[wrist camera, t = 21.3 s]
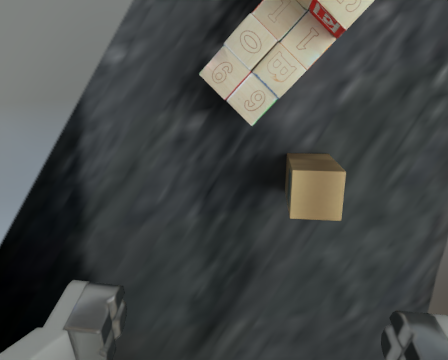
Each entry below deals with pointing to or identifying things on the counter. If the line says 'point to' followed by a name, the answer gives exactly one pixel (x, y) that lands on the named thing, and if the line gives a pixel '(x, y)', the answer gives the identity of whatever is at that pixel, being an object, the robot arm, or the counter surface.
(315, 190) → the birch block
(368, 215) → the counter surface
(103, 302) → the robot arm
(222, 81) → the stack of blocks
